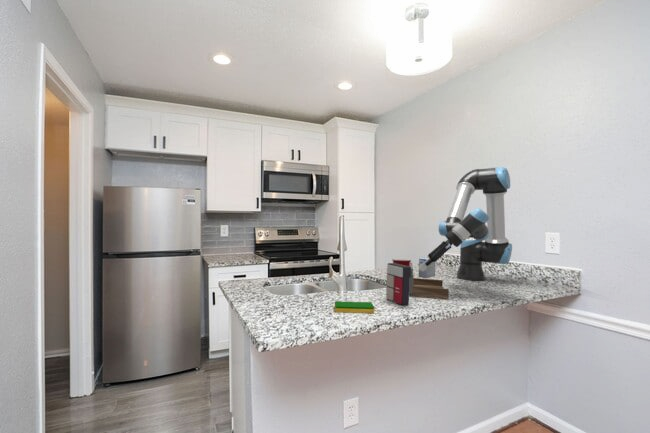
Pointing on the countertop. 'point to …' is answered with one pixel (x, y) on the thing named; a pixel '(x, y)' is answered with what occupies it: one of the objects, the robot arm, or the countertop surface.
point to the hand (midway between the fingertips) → (419, 268)
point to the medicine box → (429, 271)
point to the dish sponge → (354, 307)
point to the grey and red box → (398, 283)
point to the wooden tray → (426, 287)
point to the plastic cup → (402, 261)
